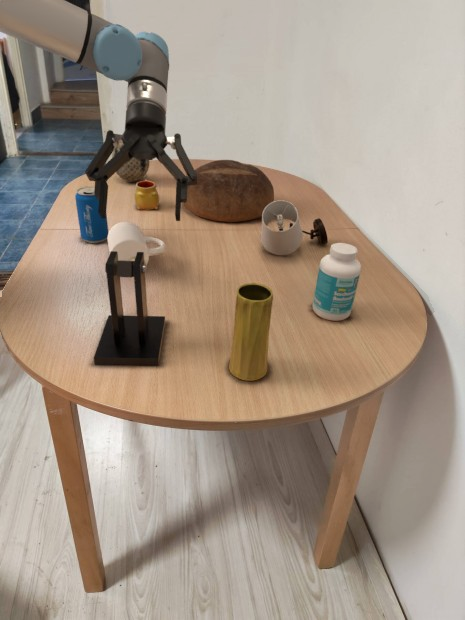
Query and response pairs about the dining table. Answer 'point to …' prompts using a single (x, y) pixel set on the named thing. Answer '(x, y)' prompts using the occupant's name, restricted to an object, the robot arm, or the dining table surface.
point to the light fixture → (289, 238)
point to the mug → (131, 242)
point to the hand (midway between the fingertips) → (139, 216)
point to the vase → (251, 331)
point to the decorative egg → (131, 167)
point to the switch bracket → (129, 322)
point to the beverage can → (90, 216)
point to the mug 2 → (146, 195)
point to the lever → (126, 267)
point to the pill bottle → (337, 282)
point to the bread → (229, 192)
